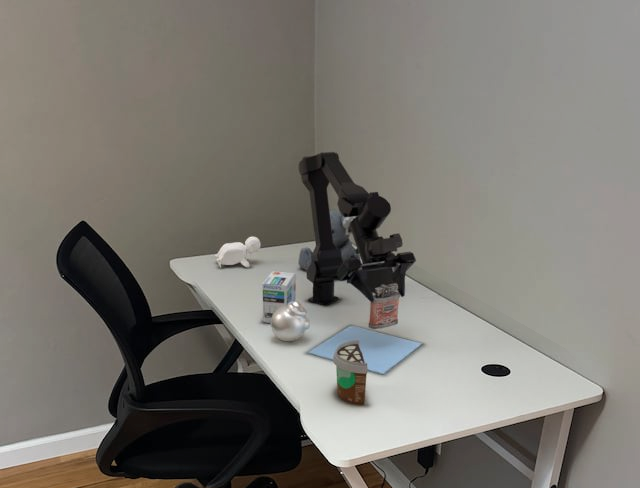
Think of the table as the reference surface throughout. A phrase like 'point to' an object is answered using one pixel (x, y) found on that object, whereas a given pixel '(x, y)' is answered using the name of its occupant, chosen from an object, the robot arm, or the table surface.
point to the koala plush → (334, 240)
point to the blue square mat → (369, 348)
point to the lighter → (384, 307)
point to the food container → (350, 372)
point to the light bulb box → (277, 292)
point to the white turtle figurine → (237, 252)
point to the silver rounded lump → (290, 321)
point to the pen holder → (380, 276)
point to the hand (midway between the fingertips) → (388, 298)
